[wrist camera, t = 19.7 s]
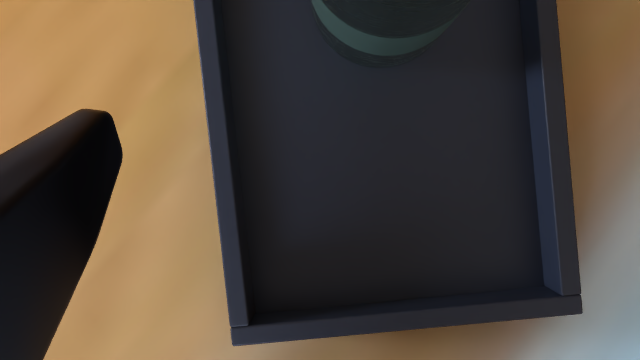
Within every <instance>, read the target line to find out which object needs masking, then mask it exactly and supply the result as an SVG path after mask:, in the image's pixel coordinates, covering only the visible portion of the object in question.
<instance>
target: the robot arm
mask: <svg viewBox="0 0 640 360" xmlns="http://www.w3.org/2000/svg"><path fill="white" fill-rule="evenodd" d="M122 155H123V154H122V147H121V144H120V140H119V137H118V134H117V131H116V127H115V124H114V121H113V118H112V116H111V115H110V114H109V113H108V112H106V111H100V110H93V109H80V110H78V111H76V112H74V113H73V114H71V115H69V116H67V117H66V118H64V119H62V120H60V121H59V122H57V123H55V124H53V125H52V126H50V127H48V128H46V129H45V130H43V131H41V132H39V133H38V134H36V135H34V136H32V137H31V138H29V139H27V140H25V141H24V142H22V143H20V144H18V145H17V146H15V147H13V148H11V149H10V150H8V151H6V152H4V153H3V154H1V155H0V360H43V359H44V357H45V354H46V352H47V350H48V348H49V346H50V343H51V341H52V339H53V337H54V335H55V332H56V330H57V328H58V326H59V324H60V321H61V319H62V317H63V315H64V313H65V310H66V308H67V306H68V304H69V302H70V300H71V297H72V295H73V293H74V291H75V289H76V286H77V284H78V282H79V280H80V278H81V275H82V273H83V271H84V269H85V267H86V264H87V262H88V260H89V258H90V256H91V253H92V251H93V249H94V246H95V244H96V241H97V238H98V235H99V232H100V230H101V226H102V223H103V220H104V217H105V214H106V211H107V207H108V204H109V201H110V198H111V195H112V192H113V189H114V185H115V182H116V179H117V176H118V173H119V170H120V166H121V163H122Z"/></svg>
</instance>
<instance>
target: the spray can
mask: <svg viewBox="0 0 640 360" xmlns="http://www.w3.org/2000/svg"><path fill="white" fill-rule="evenodd" d="M470 1H471V0H311V6H312V12H313V16H314V20H315V23H316V25H317V27H318V30H319V32H320V33H321V35H322V37H323V38H324V40H325V41H326V42H327V43H328V45H329V46H330V47H331V48H332V49H333V50H334V51H335V52H336V53H338V54H339V55H341V56H342V57H343V58H345V59H347V60H349V61H351V62H353V63H355V64H358V65H361V66H365V67H370V68H390V67H396V66H399V65H403V64H406V63H408V62H410V61H412V60H414V59H416V58H417V57H419V56H421V55H422V54H423V53H425V52H426V51H427V50H428V49H429V48H430V47H431V46H432V45H433V44H434V43H435V42H436V41H437V39H438V38H439V37H440V36H441V35H442V34H443V32H444V31H445V30H446V29H447V28H448V27H449V26H450V25H451V24H452V22H453V21H454V20H455V19H456V18H457V17H458V16H459V14H460V13H461V12H462V11H463V10H464V9H465V7H466V6H467V5H468V4H469V2H470Z"/></svg>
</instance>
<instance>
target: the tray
mask: <svg viewBox="0 0 640 360" xmlns="http://www.w3.org/2000/svg"><path fill="white" fill-rule="evenodd" d="M193 1H194V10H195V19H196V28H197V37H198V46H199V54H200V63H201V72H202V81H203V90H204V99H205V108H206V117H207V126H208V135H209V144H210V152H211V161H212V170H213V179H214V188H215V197H216V206H217V215H218V224H219V233H220V242H221V250H222V259H223V268H224V277H225V286H226V295H227V304H228V313H229V322H230V326H231V329H230V330H231V339H232V345H233V346H241V345H252V344H262V343H273V342H284V341H295V340H306V339H316V338H327V337H338V336H349V335H359V334H370V333H381V332H392V331H402V330H413V329H424V328H435V327H446V326H456V325H467V324H478V323H489V322H499V321H510V320H521V319H532V318H543V317H553V316H564V315H575V314H582V300H581V295H580V294H581V285H580V274H579V262H578V250H577V238H576V227H575V215H574V203H573V192H572V180H571V168H570V156H569V145H568V133H567V121H566V110H565V98H564V86H563V74H562V63H561V51H560V39H559V28H558V16H557V4H556V0H471V1H470V2H469V4H468V5H467V6H466V7H465V9H464V10H463V11H462V12H461V13H460V14H459V16H458V17H457V18H456V19H455V20H454V21H453V22H452V24H451V25H450V26H449V27H448V28H447V29H446V30H445V31H444V32H443V34H442V35H441V36H440V37H439V38H438V39H437V41H436V42H435V43H434V44H433V45H432V46H431V47H430V48H429V49H428V50H427V51H426V52H425V53H423V54H422V55H421V56H419V57H417V58H416V59H414V60H412V61H410V62H408V63H406V64H403V65H399V66H396V67H390V68H370V67H365V66H361V65H358V64H355V63H353V62H351V61H349V60H347V59H345V58H343V57H342V56H341V55H339V54H338V53H336V52H335V51H334V50H333V49H332V48H331V47H330V46H329V45H328V43H327V42H326V41H325V40H324V38H323V37H322V35H321V33H320V32H319V30H318V27H317V25H316V23H315V20H314V16H313V12H312V6H311V0H193Z"/></svg>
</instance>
